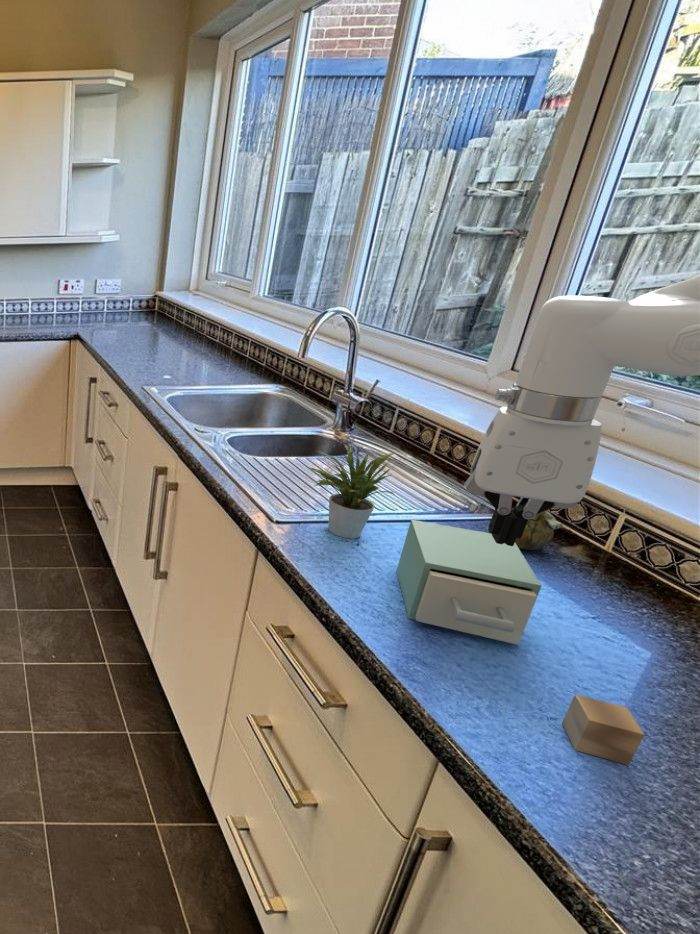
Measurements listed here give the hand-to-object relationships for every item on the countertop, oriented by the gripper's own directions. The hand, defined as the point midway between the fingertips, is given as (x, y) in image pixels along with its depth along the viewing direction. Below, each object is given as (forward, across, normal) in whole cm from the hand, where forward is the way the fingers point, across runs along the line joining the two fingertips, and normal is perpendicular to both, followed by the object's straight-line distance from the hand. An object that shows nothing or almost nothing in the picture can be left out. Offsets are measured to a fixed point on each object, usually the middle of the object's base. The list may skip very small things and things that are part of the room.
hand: (501, 539), depth 79 cm
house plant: (+17, -13, +30) cm, 37 cm away
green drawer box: (+16, 0, +10) cm, 19 cm away
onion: (+16, +14, +38) cm, 43 cm away
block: (+16, +9, -14) cm, 24 cm away
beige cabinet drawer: (+15, 0, +6) cm, 17 cm away
